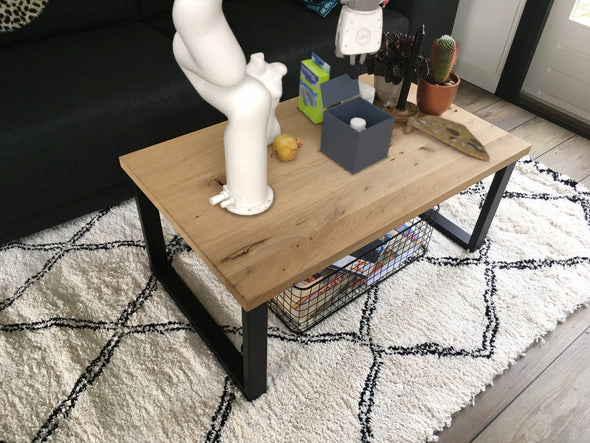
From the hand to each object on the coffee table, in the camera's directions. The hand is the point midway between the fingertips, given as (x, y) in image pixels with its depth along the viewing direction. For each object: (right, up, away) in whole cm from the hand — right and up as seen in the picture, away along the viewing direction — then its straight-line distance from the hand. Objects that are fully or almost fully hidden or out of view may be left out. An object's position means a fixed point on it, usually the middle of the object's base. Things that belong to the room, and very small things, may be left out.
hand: (353, 77), depth 125 cm
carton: (+2, -17, +12) cm, 21 cm away
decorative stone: (+30, -14, +21) cm, 40 cm away
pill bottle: (+2, -17, +12) cm, 21 cm away
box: (-9, -4, +26) cm, 28 cm away
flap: (-3, -2, +5) cm, 6 cm away
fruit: (-17, -19, +10) cm, 27 cm away
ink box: (+3, -6, +25) cm, 26 cm away
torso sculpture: (-24, -14, +15) cm, 32 cm away
